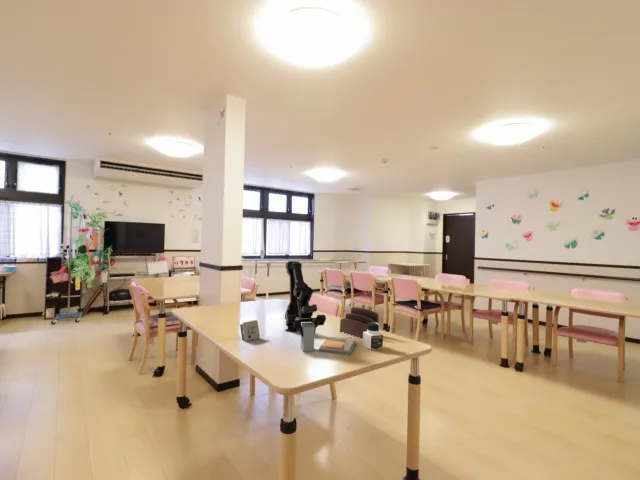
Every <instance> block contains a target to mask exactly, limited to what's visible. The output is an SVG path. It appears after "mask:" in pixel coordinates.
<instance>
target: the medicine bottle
mask: <svg viewBox="0 0 640 480" xmlns="http://www.w3.org/2000/svg"><path fill="white" fill-rule="evenodd" d="M383 342H384V334H382V333H381V332H380V324H379V322H378V323H375V322H369V323H368V324H367V331H366V332H363V339H362V347H363V348H366V349H367V348H369V349H371V350H370V351H373V350H372V349H377V350H379V349H378V348H382V349H383V347H384V346H383V345H384V344H383ZM369 349H368V350H369Z"/></svg>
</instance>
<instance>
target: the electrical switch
mask: <svg viewBox="0 0 640 480" xmlns="http://www.w3.org/2000/svg"><path fill="white" fill-rule="evenodd" d="M258 321H259V320H257V319H253V320H250V321H244V322H241V323H242V324H239V326H240V327H239V328H240V334H241V341H244V342H251V341H253V340H257V339H260V337H261V336H260V328H259V322H258Z"/></svg>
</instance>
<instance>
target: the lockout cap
mask: <svg viewBox="0 0 640 480" xmlns="http://www.w3.org/2000/svg"><path fill="white" fill-rule="evenodd" d="M301 326H302V330H303V337H302V336H301V335H300V338H301V339H300V349H301V350H302V352H315V336H314V333H315V334H316V331H315V325H314V324H313V323H312V322H301Z"/></svg>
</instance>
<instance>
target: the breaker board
mask: <svg viewBox="0 0 640 480" xmlns="http://www.w3.org/2000/svg"><path fill="white" fill-rule="evenodd" d="M355 344H357V341H355V340H354V337H352V336H349V337H348V338H347V340H345V339H335V338H326V339H325V340H323V342H322V344H320V347H319V348H318V352H323V353H332V354H341V355H346V354H347V355H348V356H351V355H352V353H353V351H354V348H355V347H356V345H355ZM354 346H355V347H354ZM347 355H346V356H347Z"/></svg>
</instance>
